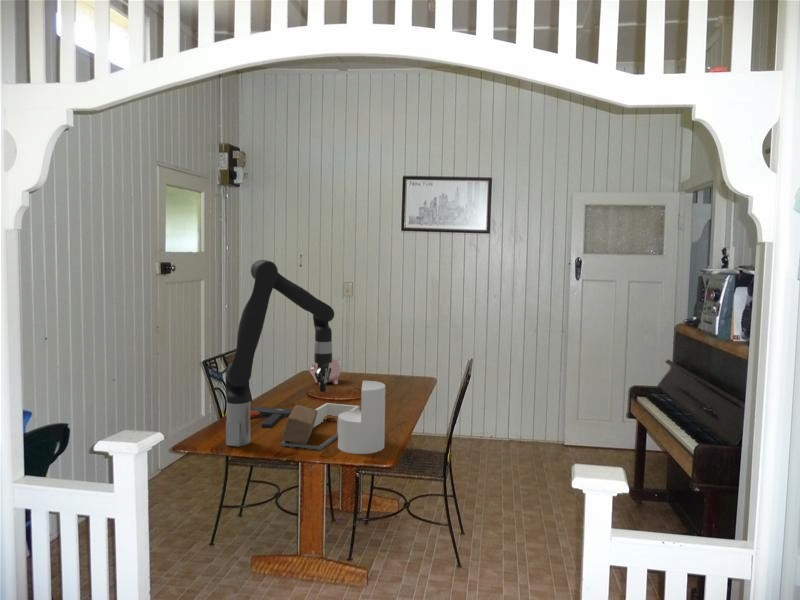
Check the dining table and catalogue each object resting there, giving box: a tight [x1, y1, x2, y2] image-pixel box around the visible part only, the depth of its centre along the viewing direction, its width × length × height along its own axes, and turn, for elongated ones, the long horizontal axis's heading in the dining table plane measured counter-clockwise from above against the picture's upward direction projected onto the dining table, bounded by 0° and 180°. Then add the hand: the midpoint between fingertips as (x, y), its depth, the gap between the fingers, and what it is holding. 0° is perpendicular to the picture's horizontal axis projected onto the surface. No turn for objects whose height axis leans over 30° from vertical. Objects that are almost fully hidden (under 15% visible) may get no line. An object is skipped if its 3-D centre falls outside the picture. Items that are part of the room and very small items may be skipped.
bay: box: [279, 432, 338, 451], centre depth 268 cm, size 22×17×1 cm
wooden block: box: [282, 404, 317, 445], centre depth 269 cm, size 10×10×20 cm
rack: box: [313, 402, 360, 434], centre depth 290 cm, size 24×16×7 cm
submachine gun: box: [250, 406, 293, 429], centre depth 299 cm, size 32×3×25 cm
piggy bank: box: [309, 357, 341, 386], centre depth 379 cm, size 15×18×16 cm
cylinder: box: [337, 380, 386, 455], centre depth 261 cm, size 19×19×25 cm
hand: (323, 391), depth 278 cm, fingers closed
